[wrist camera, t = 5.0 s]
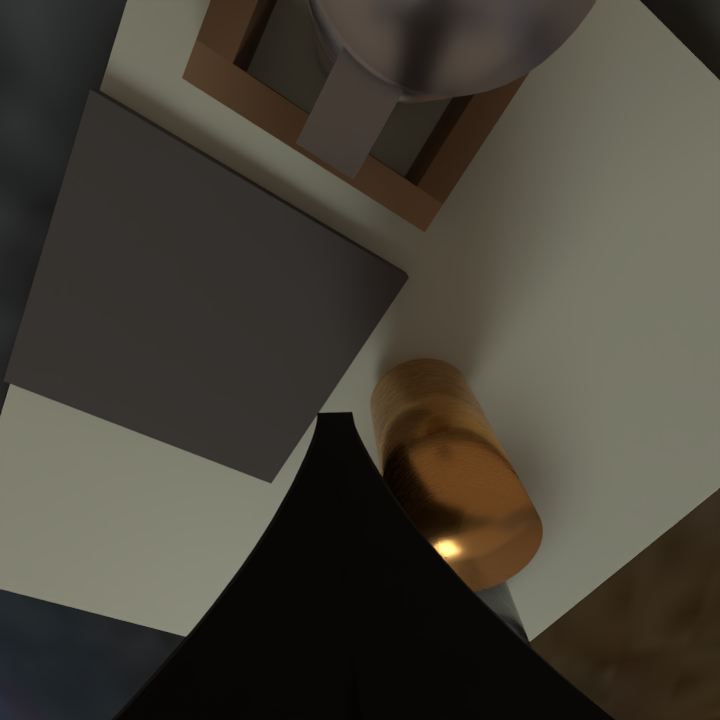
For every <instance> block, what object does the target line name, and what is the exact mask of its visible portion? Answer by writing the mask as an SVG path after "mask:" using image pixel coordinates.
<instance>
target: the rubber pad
mask: <svg viewBox="0 0 720 720" xmlns="http://www.w3.org/2000/svg"><path fill="white" fill-rule="evenodd" d="M408 278H409V277H408V275H407V273H406V272H405V271H403V270H402V269H400V268H398V267H397V266H395V265H393V264H391V263H390V262H388V261H386V260H385V259H383V258H381V257H380V256H378V255H376V254H375V253H373V252H371V251H370V250H368V249H366V248H365V247H363V246H361V245H359V244H358V243H356V242H354V241H353V240H351V239H349V238H348V237H346V236H344V235H343V234H341V233H339V232H338V231H336V230H334V229H333V228H331V227H329V226H327V225H326V224H324V223H322V222H321V221H319V220H317V219H316V218H314V217H312V216H311V215H309V214H307V213H306V212H304V211H302V210H301V209H299V208H297V207H295V206H294V205H292V204H290V203H289V202H287V201H285V200H284V199H282V198H280V197H279V196H277V195H275V194H274V193H272V192H270V191H269V190H267V189H265V188H263V187H262V186H260V185H258V184H257V183H255V182H253V181H252V180H250V179H248V178H247V177H245V176H243V175H242V174H240V173H238V172H237V171H235V170H233V169H232V168H230V167H228V166H226V165H225V164H223V163H221V162H220V161H218V160H216V159H215V158H213V157H211V156H210V155H208V154H206V153H205V152H203V151H201V150H200V149H198V148H196V147H194V146H193V145H191V144H189V143H188V142H186V141H184V140H183V139H181V138H179V137H178V136H176V135H174V134H173V133H171V132H169V131H168V130H166V129H164V128H162V127H161V126H159V125H157V124H156V123H154V122H152V121H151V120H149V119H147V118H146V117H144V116H142V115H141V114H139V113H137V112H136V111H134V110H132V109H130V108H129V107H127V106H125V105H124V104H122V103H120V102H119V101H117V100H115V99H114V98H112V97H110V96H109V95H107V94H105V93H104V92H102V91H100V90H93V89H90V91H89V94H88V98H87V101H86V105H85V108H84V111H83V115H82V118H81V121H80V125H79V128H78V132H77V135H76V138H75V142H74V145H73V148H72V152H71V155H70V159H69V162H68V165H67V169H66V172H65V175H64V179H63V182H62V186H61V189H60V192H59V196H58V199H57V202H56V206H55V209H54V212H53V216H52V219H51V223H50V226H49V229H48V233H47V236H46V239H45V243H44V246H43V250H42V253H41V256H40V260H39V263H38V266H37V270H36V273H35V277H34V280H33V283H32V287H31V290H30V293H29V297H28V300H27V304H26V307H25V310H24V314H23V317H22V320H21V324H20V327H19V330H18V334H17V337H16V341H15V344H14V347H13V351H12V354H11V357H10V361H9V364H8V368H7V371H6V374H5V378H4V382H7V383H10V384H12V385H15V386H17V387H20V388H23V389H25V390H28V391H31V392H33V393H36V394H38V395H41V396H44V397H46V398H49V399H51V400H54V401H57V402H59V403H62V404H64V405H67V406H70V407H72V408H75V409H78V410H80V411H83V412H85V413H88V414H91V415H93V416H96V417H98V418H101V419H104V420H106V421H109V422H111V423H114V424H117V425H119V426H122V427H124V428H127V429H130V430H132V431H135V432H138V433H140V434H143V435H145V436H148V437H151V438H153V439H156V440H158V441H161V442H164V443H166V444H169V445H171V446H174V447H177V448H179V449H182V450H185V451H187V452H190V453H192V454H195V455H198V456H200V457H203V458H205V459H208V460H211V461H213V462H216V463H218V464H221V465H224V466H226V467H229V468H232V469H234V470H237V471H239V472H242V473H245V474H247V475H250V476H252V477H255V478H258V479H260V480H263V481H265V482H268V483H272V482H273V480H274V479H275V477H276V476H277V474H278V473H279V471H280V470H281V468H282V467H283V465H284V464H285V462H286V461H287V459H288V458H289V456H290V455H291V453H292V452H293V450H294V449H295V447H296V446H297V444H298V443H299V441H300V440H301V438H302V437H303V435H304V434H305V432H306V431H307V429H308V428H309V426H310V425H311V423H312V422H313V420H314V419H315V417H316V416H317V413H319V411H320V410H321V408H322V407H323V405H324V404H325V402H326V401H327V400H328V398H329V397H330V395H331V394H332V392H333V391H334V389H335V388H336V386H337V385H338V383H339V382H340V380H341V379H342V377H343V376H344V374H345V373H346V371H347V370H348V368H349V367H350V365H351V364H352V362H353V361H354V359H355V358H356V356H357V355H358V353H359V352H360V350H361V349H362V347H363V346H364V344H365V343H366V341H367V340H368V338H369V337H370V335H371V334H372V332H373V331H374V329H375V328H376V326H377V325H378V323H379V322H380V320H381V319H382V317H383V316H384V314H385V313H386V311H387V310H388V308H389V307H390V305H391V304H392V302H393V301H394V299H395V298H396V296H397V295H398V293H399V292H400V290H401V289H402V287H403V286H404V284H405V283H406V281H407V280H408Z"/></svg>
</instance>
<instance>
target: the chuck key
mask: <svg viewBox="0 0 720 720" xmlns="http://www.w3.org/2000/svg"><path fill="white" fill-rule="evenodd" d="M596 1H597V0H308V6H309V13H310V19H311V26H312V32H313V39H314V45H315V50H316V54H317V58H318V61H319V63H320V66H321V68H322V70H323V72H324V74H325V76H326V78H327V80H326V82H325V84H324V87H323V89H322V91H321V93H320V95H319V97H318V99H317V101H316V103H315V105H314V107H313V109H312V111H311V113H310V115H309V117H308V119H307V121H306V123H305V125H304V127H303V129H302V131H301V133H300V135H299V137H298V140H297V142H296V144H298V145H299V146H301V147H302V148H304V149H305V150H307V151H309V152H310V153H312V154H313V155H315V156H316V157H318V158H320V159H321V160H323V161H324V162H326V163H327V164H329V165H330V166H332V167H334V168H335V169H337V170H338V171H340V172H341V173H343V174H345V175H346V176H348V177H349V178H351V179H352V180H354V179H355V177H356V175H357V173H358V171H359V170H360V168H361V166H362V164H363V162H364V161H365V159H366V157H367V155H368V154H369V152H370V150H371V148H372V146H373V145H374V143H375V141H376V139H377V137H378V136H379V134H380V132H381V130H382V129H383V127H384V125H385V123H386V121H387V120H388V118H389V116H390V114H391V112H392V111H393V109H394V107H395V106H400V105H406V104H413V103H420V102H426V101H433V100H440V99H447V98H453V97H460V96H467V95H472V94H477V93H482V92H487V91H490V90H492V89H495V88H498V87H501V86H504V85H506V84H508V83H510V82H512V81H514V80H516V79H518V78H520V77H522V76H524V75H525V74H527V73H528V72H530V71H531V70H533V69H534V68H536V67H537V66H538V65H540V64H541V63H543V62H544V61H545V60H546V59H547V58H548V57H550V56H551V55H552V54H553V53H554V52H555V51H556V50H558V49H559V48H560V47H561V46H562V45H563V44H564V42H565V41H566V40H567V39H568V38H569V37H570V36H571V35H572V34H573V33H574V32H575V30H576V29H577V28H578V27H579V25H580V24H581V23H582V21H583V20H584V19H585V17H586V16H587V14H588V13H589V12H590V10H591V9H592V7H593V6H594V4H595V2H596Z"/></svg>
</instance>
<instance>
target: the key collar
mask: <svg viewBox="0 0 720 720" xmlns="http://www.w3.org/2000/svg"><path fill="white" fill-rule="evenodd" d="M276 1H277V0H211V1H210V3H209V6H208V9H207V11H206V14H205V17H204V20H203V22H202V25H201V28H200V30H199V33H198V36H197V39H196V41H195V44H194V47H193V49H192V52H191V55H190V57H189V60H188V63H187V66H186V68H185V71H184V74H183V76H182V79H184V80H186V81H187V82H189V83H190V84H192V85H194V86H195V87H197V88H198V89H200V90H201V91H203V92H205V93H206V94H208V95H209V96H211V97H212V98H214V99H216V100H217V101H219V102H220V103H222V104H223V105H225V106H227V107H228V108H230V109H231V110H233V111H234V112H236V113H238V114H239V115H241V116H242V117H244V118H245V119H247V120H249V121H250V122H252V123H253V124H255V125H256V126H258V127H260V128H261V129H263V130H264V131H266V132H267V133H269V134H271V135H272V136H274V137H275V138H277V139H279V140H280V141H282V142H283V143H285V144H286V145H288V146H290V147H291V148H293V149H294V150H296V151H297V152H299V153H301V154H302V155H304V156H305V157H307V158H308V159H310V160H312V161H313V162H315V163H316V164H318V165H319V166H321V167H323V168H324V169H326V170H327V171H329V172H330V173H332V174H334V175H335V176H337V177H338V178H340V179H341V180H343V181H345V182H346V183H348V184H349V185H351V186H352V187H354V188H356V189H357V190H359V191H360V192H362V193H363V194H365V195H367V196H368V197H370V198H371V199H373V200H375V201H376V202H378V203H379V204H381V205H382V206H384V207H386V208H387V209H389V210H390V211H392V212H393V213H395V214H397V215H398V216H400V217H401V218H403V219H404V220H406V221H408V222H409V223H411V224H412V225H414V226H415V227H417V228H419V229H420V230H422V231H423V232H425V231H426V230H427V228H428V227H429V225H430V224H431V222H432V221H433V219H434V218H435V216H436V214H437V213H438V211H439V210H440V208H441V207H442V205H443V204H444V202H445V201H446V199H447V198H448V196H449V195H450V193H451V192H452V190H453V189H454V187H455V185H456V184H457V182H458V181H459V179H460V178H461V176H462V175H463V173H464V172H465V170H466V169H467V167H468V166H469V164H470V163H471V161H472V160H473V158H474V156H475V155H476V153H477V152H478V150H479V149H480V147H481V146H482V144H483V143H484V141H485V140H486V138H487V137H488V135H489V134H490V132H491V130H492V129H493V127H494V126H495V124H496V123H497V121H498V120H499V118H500V117H501V115H502V114H503V112H504V111H505V109H506V108H507V106H508V105H509V103H510V101H511V100H512V98H513V97H514V95H515V94H516V92H517V91H518V89H519V88H520V86H521V85H522V83H523V82H524V80H525V79H526V77H527V76H528V74H529V72H528V73H527V74H525V75H524V76H522V77H520V78H518V79H516V80H514V81H512V82H510V83H508V84H506V85H504V86H501V87H498V88H495V89H492V90H490V91H487V92H482V93H477V94H472V95H467V96H460V97H453V98H452V99H451V101H450V102H449V104H448V106H447V107H446V109H445V111H444V112H443V114H442V116H441V117H440V119H439V121H438V122H437V124H436V126H435V127H434V129H433V131H432V132H431V134H430V135H429V137H428V139H427V140H426V142H425V144H424V145H423V147H422V149H421V150H420V152H419V154H418V155H417V157H416V159H415V160H414V162H413V164H412V165H411V167H410V169H409V170H408V172H407V174H406V175H405V177H403V176H402V175H400V174H399V173H397V172H396V171H394V170H393V169H391V168H390V167H389V166H387V165H386V164H384V163H383V162H381V161H380V160H378V159H377V158H375V157H374V156H372V155H371V154H368V155H367V157H366V159H365V161H364V162H363V164H362V166H361V168H360V170H359V171H358V173H357V175H356V177H355V179H354V180H352V179H351V178H349V177H348V176H346V175H345V174H343V173H341V172H340V171H338V170H337V169H335V168H334V167H332V166H330V165H329V164H327V163H326V162H324V161H323V160H321V159H320V158H318V157H316V156H315V155H313V154H312V153H310V152H309V151H307V150H305V149H304V148H302V147H301V146H299V145H298V144H296V142H297V140H298V137H299V135H300V133H301V131H302V129H303V127H304V125H305V123H306V121H307V119H308V117H309V115H310V114H309V113H308V112H306V111H305V110H303V109H302V108H300V107H299V106H297V105H296V104H294V103H293V102H291V101H290V100H288V99H287V98H285V97H284V96H282V95H281V94H279V93H278V92H276V91H275V90H273V89H272V88H270V87H269V86H267V85H266V84H264V83H263V82H261V81H260V80H259V79H257V78H256V77H254V76H253V75H251V74H250V73H248V72H247V70H248V68H249V66H250V63H251V61H252V58H253V56H254V54H255V51H256V49H257V47H258V44H259V42H260V39H261V37H262V35H263V32H264V30H265V28H266V25H267V23H268V20H269V18H270V16H271V13H272V11H273V9H274V6H275V4H276Z"/></svg>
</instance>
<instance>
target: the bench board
mask: <svg viewBox="0 0 720 720" xmlns="http://www.w3.org/2000/svg"><path fill="white" fill-rule="evenodd" d="M210 1H211V0H127V3H126V6H125V9H124V13H123V16H122V19H121V23H120V26H119V29H118V32H117V36H116V39H115V42H114V45H113V49H112V52H111V55H110V59H109V62H108V65H107V68H106V72H105V75H104V78H103V82H102V85H101V88H100V91H102V92H104V93H105V94H107V95H109V96H110V97H112V98H114V99H115V100H117V101H119V102H120V103H122V104H124V105H125V106H127V107H129V108H130V109H132V110H134V111H136V112H137V113H139V114H141V115H142V116H144V117H146V118H147V119H149V120H151V121H152V122H154V123H156V124H157V125H159V126H161V127H162V128H164V129H166V130H168V131H169V132H171V133H173V134H174V135H176V136H178V137H179V138H181V139H183V140H184V141H186V142H188V143H189V144H191V145H193V146H194V147H196V148H198V149H200V150H201V151H203V152H205V153H206V154H208V155H210V156H211V157H213V158H215V159H216V160H218V161H220V162H221V163H223V164H225V165H226V166H228V167H230V168H232V169H233V170H235V171H237V172H238V173H240V174H242V175H243V176H245V177H247V178H248V179H250V180H252V181H253V182H255V183H257V184H258V185H260V186H262V187H263V188H265V189H267V190H269V191H270V192H272V193H274V194H275V195H277V196H279V197H280V198H282V199H284V200H285V201H287V202H289V203H290V204H292V205H294V206H295V207H297V208H299V209H301V210H302V211H304V212H306V213H307V214H309V215H311V216H312V217H314V218H316V219H317V220H319V221H321V222H322V223H324V224H326V225H327V226H329V227H331V228H333V229H334V230H336V231H338V232H339V233H341V234H343V235H344V236H346V237H348V238H349V239H351V240H353V241H354V242H356V243H358V244H359V245H361V246H363V247H365V248H366V249H368V250H370V251H371V252H373V253H375V254H376V255H378V256H380V257H381V258H383V259H385V260H386V261H388V262H390V263H391V264H393V265H395V266H397V267H398V268H400V269H402V270H403V271H405V272H406V273H407V275H408V277H409V278H408V280H407V281H406V283H405V284H404V286H403V287H402V289H401V290H400V292H399V293H398V295H397V296H396V298H395V299H394V301H393V302H392V304H391V305H390V307H389V308H388V310H387V311H386V313H385V314H384V316H383V317H382V319H381V320H380V322H379V323H378V325H377V326H376V328H375V329H374V331H373V332H372V334H371V335H370V337H369V338H368V340H367V341H366V343H365V344H364V346H363V347H362V349H361V350H360V352H359V353H358V355H357V356H356V358H355V359H354V361H353V362H352V364H351V365H350V367H349V368H348V370H347V371H346V373H345V374H344V376H343V377H342V379H341V380H340V382H339V383H338V385H337V386H336V388H335V389H334V391H333V392H332V394H331V395H330V397H329V398H328V400H327V401H326V402H325V404H324V405H323V407H322V408H321V410H320V411H319V413H327V412H352V413H353V418H354V424H355V426H356V429H357V431H358V433H359V435H360V438H361V440H362V442H363V444H364V446H365V447H366V449H367V451H368V453H369V455H370V457H371V459H372V460H373V462H374V464H375V465H376V467H377V469H378V470H379V472H380V468H379V462H378V455H377V449H376V442H375V436H374V429H373V423H372V416H371V410H370V401H371V396H372V392H373V390H374V388H375V386H376V384H377V383H378V381H379V380H380V379H381V378H382V376H383V375H384V374H386V373H387V372H388V371H389V370H391V369H392V368H393V367H395V366H397V365H399V364H401V363H404V362H406V361H410V360H414V359H420V358H430V359H437V360H441V361H444V362H447V363H449V364H451V365H453V366H454V367H456V368H457V369H458V370H459V371H460V372H461V373H462V374H463V375H464V377H465V378H466V380H467V382H468V384H469V386H470V387H471V389H472V391H473V393H474V395H475V397H476V399H477V401H478V402H479V404H480V406H481V408H482V410H483V412H484V414H485V416H486V417H487V419H488V421H489V423H490V425H491V427H492V429H493V430H494V432H495V434H496V436H497V438H498V440H499V442H500V444H501V445H502V447H503V449H504V451H505V453H506V455H507V457H508V459H509V460H510V462H511V464H512V466H513V468H514V470H515V472H516V473H517V475H518V477H519V479H520V481H521V483H522V485H523V487H524V488H525V490H526V492H527V494H528V496H529V498H530V500H531V502H532V503H533V505H534V507H535V509H536V511H537V513H538V515H539V516H540V519H541V522H542V526H543V537H542V541H541V545H540V547H539V549H538V551H537V553H536V554H535V556H534V558H533V559H532V560H531V561H530V562H529V564H528V565H527V566H525V567H524V568H523V569H522V570H521V571H520V572H518V573H517V574H516V575H514V576H513V577H511V578H510V579H508V580H506V583H507V585H508V588H509V590H510V593H511V596H512V598H513V601H514V603H515V606H516V609H517V611H518V614H519V616H520V619H521V621H522V624H523V627H524V629H525V632H526V634H527V637H528V639H529V642H530V641H531V640H532V639H534V638H535V637H536V636H537V635H539V634H540V633H541V632H542V631H544V630H545V629H546V628H547V627H549V626H550V625H551V624H552V623H553V622H555V621H556V620H557V619H558V618H560V617H561V616H562V615H563V614H565V613H566V612H567V611H568V610H569V609H571V608H572V607H573V606H574V605H576V604H577V603H578V602H579V601H581V600H582V599H583V598H584V597H586V596H587V595H588V594H589V593H590V592H592V591H593V590H594V589H595V588H597V587H598V586H599V585H600V584H602V583H603V582H604V581H605V580H607V579H608V578H609V577H610V576H611V575H613V574H614V573H615V572H616V571H618V570H619V569H620V568H621V567H623V566H624V565H625V564H626V563H628V562H629V561H630V560H631V559H632V558H634V557H635V556H636V555H637V554H639V553H640V552H641V551H642V550H644V549H645V548H646V547H647V546H649V545H650V544H651V543H652V542H653V541H655V540H656V539H657V538H658V537H660V536H661V535H662V534H663V533H665V532H666V531H667V530H668V529H669V528H671V527H672V526H673V525H674V524H676V523H677V522H678V521H679V520H681V519H682V518H683V517H684V516H686V515H687V514H688V513H689V512H690V511H692V510H693V509H694V508H695V507H697V506H698V505H699V504H700V503H702V502H703V501H704V500H705V499H707V498H708V497H709V496H710V495H711V494H713V493H714V492H715V491H716V490H718V489H719V488H720V80H719V79H718V78H717V77H716V76H715V75H714V74H713V73H712V72H711V71H710V70H709V69H708V68H707V67H706V66H705V65H704V64H703V63H702V62H701V61H700V60H699V59H698V58H697V57H696V56H695V55H694V54H693V53H692V52H691V51H690V50H689V49H688V48H687V47H686V46H685V45H684V44H683V43H682V42H681V41H680V40H679V39H678V38H677V37H676V36H675V35H674V34H673V33H672V32H671V31H670V30H669V29H668V28H667V27H666V26H665V25H664V24H663V23H662V22H661V21H660V20H659V19H658V18H657V17H656V16H655V15H654V14H653V13H652V12H651V11H650V10H649V9H648V8H647V7H646V6H645V5H644V4H643V3H642V2H641V1H640V0H597V1H596V2H595V4H594V6H593V7H592V9H591V10H590V12H589V13H588V14H587V16H586V17H585V19H584V20H583V21H582V23H581V24H580V25H579V27H578V28H577V29H576V30H575V32H574V33H573V34H572V35H571V36H570V37H569V38H568V39H567V40H566V41H565V42H564V44H563V45H562V46H561V47H560V48H559V49H558V50H556V51H555V52H554V53H553V54H552V55H551V56H550V57H548V58H547V59H546V60H545V61H544V62H543V63H541V64H540V65H538V66H537V67H536V68H534V69H533V70H531V71H530V72H529V74H528V76H527V77H526V79H525V80H524V82H523V83H522V85H521V86H520V88H519V89H518V91H517V92H516V94H515V95H514V97H513V98H512V100H511V101H510V103H509V105H508V106H507V108H506V109H505V111H504V112H503V114H502V115H501V117H500V118H499V120H498V121H497V123H496V124H495V126H494V127H493V129H492V130H491V132H490V134H489V135H488V137H487V138H486V140H485V141H484V143H483V144H482V146H481V147H480V149H479V150H478V152H477V153H476V155H475V156H474V158H473V160H472V161H471V163H470V164H469V166H468V167H467V169H466V170H465V172H464V173H463V175H462V176H461V178H460V179H459V181H458V182H457V184H456V185H455V187H454V189H453V190H452V192H451V193H450V195H449V196H448V198H447V199H446V201H445V202H444V204H443V205H442V207H441V208H440V210H439V211H438V213H437V214H436V216H435V218H434V219H433V221H432V222H431V224H430V225H429V227H428V228H427V230H426V231H425V232H423V231H422V230H420V229H419V228H417V227H415V226H414V225H412V224H411V223H409V222H408V221H406V220H404V219H403V218H401V217H400V216H398V215H397V214H395V213H393V212H392V211H390V210H389V209H387V208H386V207H384V206H382V205H381V204H379V203H378V202H376V201H375V200H373V199H371V198H370V197H368V196H367V195H365V194H363V193H362V192H360V191H359V190H357V189H356V188H354V187H352V186H351V185H349V184H348V183H346V182H345V181H343V180H341V179H340V178H338V177H337V176H335V175H334V174H332V173H330V172H329V171H327V170H326V169H324V168H323V167H321V166H319V165H318V164H316V163H315V162H313V161H312V160H310V159H308V158H307V157H305V156H304V155H302V154H301V153H299V152H297V151H296V150H294V149H293V148H291V147H290V146H288V145H286V144H285V143H283V142H282V141H280V140H279V139H277V138H275V137H274V136H272V135H271V134H269V133H267V132H266V131H264V130H263V129H261V128H260V127H258V126H256V125H255V124H253V123H252V122H250V121H249V120H247V119H245V118H244V117H242V116H241V115H239V114H238V113H236V112H234V111H233V110H231V109H230V108H228V107H227V106H225V105H223V104H222V103H220V102H219V101H217V100H216V99H214V98H212V97H211V96H209V95H208V94H206V93H205V92H203V91H201V90H200V89H198V88H197V87H195V86H194V85H192V84H190V83H189V82H187V81H186V80H184V79H182V76H183V74H184V71H185V68H186V66H187V63H188V60H189V57H190V55H191V52H192V49H193V47H194V44H195V41H196V39H197V36H198V33H199V30H200V28H201V25H202V22H203V20H204V17H205V14H206V11H207V9H208V6H209V3H210ZM247 72H248V73H250V74H251V75H253V76H254V77H256V78H257V79H259V80H260V81H261V82H263V83H264V84H266V85H267V86H269V87H270V88H272V89H273V90H275V91H276V92H278V93H279V94H281V95H282V96H284V97H285V98H287V99H288V100H290V101H291V102H293V103H294V104H296V105H297V106H299V107H300V108H302V109H303V110H305V111H306V112H308V113H309V114H310V113H311V111H312V109H313V107H314V105H315V103H316V101H317V99H318V97H319V95H320V93H321V91H322V89H323V87H324V84H325V82H326V80H327V78H326V76H325V74H324V72H323V70H322V68H321V66H320V63H319V61H318V58H317V54H316V50H315V45H314V39H313V32H312V26H311V19H310V13H309V6H308V0H277V1H276V4H275V6H274V9H273V11H272V13H271V16H270V18H269V20H268V23H267V25H266V28H265V30H264V32H263V35H262V37H261V39H260V42H259V44H258V47H257V49H256V51H255V54H254V56H253V58H252V61H251V63H250V66H249V68H248V70H247ZM451 99H452V98H447V99H440V100H433V101H426V102H420V103H413V104H406V105H400V106H395V107H394V109H393V111H392V112H391V114H390V116H389V118H388V120H387V121H386V123H385V125H384V127H383V129H382V130H381V132H380V134H379V136H378V137H377V139H376V141H375V143H374V145H373V146H372V148H371V150H370V152H369V154H371V155H372V156H374V157H375V158H377V159H378V160H380V161H381V162H383V163H384V164H386V165H387V166H389V167H390V168H391V169H393V170H394V171H396V172H397V173H399V174H400V175H402V176H403V177H405V175H406V174H407V172H408V170H409V169H410V167H411V165H412V164H413V162H414V160H415V159H416V157H417V155H418V154H419V152H420V150H421V149H422V147H423V145H424V144H425V142H426V140H427V139H428V137H429V135H430V134H431V132H432V131H433V129H434V127H435V126H436V124H437V122H438V121H439V119H440V117H441V116H442V114H443V112H444V111H445V109H446V107H447V106H448V104H449V102H450V101H451ZM316 422H317V416H316V417H315V419H314V420H313V422H312V423H311V425H310V426H309V428H308V429H307V431H306V432H305V434H304V435H303V437H302V438H301V440H300V441H299V443H298V444H297V446H296V447H295V449H294V450H293V452H292V453H291V455H290V456H289V458H288V459H287V461H286V462H285V464H284V465H283V467H282V468H281V470H280V471H279V473H278V474H277V476H276V477H275V479H274V480H273V482H272V483H268V482H265V481H263V480H260V479H258V478H255V477H252V476H250V475H247V474H245V473H242V472H239V471H237V470H234V469H232V468H229V467H226V466H224V465H221V464H218V463H216V462H213V461H211V460H208V459H205V458H203V457H200V456H198V455H195V454H192V453H190V452H187V451H185V450H182V449H179V448H177V447H174V446H171V445H169V444H166V443H164V442H161V441H158V440H156V439H153V438H151V437H148V436H145V435H143V434H140V433H138V432H135V431H132V430H130V429H127V428H124V427H122V426H119V425H117V424H114V423H111V422H109V421H106V420H104V419H101V418H98V417H96V416H93V415H91V414H88V413H85V412H83V411H80V410H78V409H75V408H72V407H70V406H67V405H64V404H62V403H59V402H57V401H54V400H51V399H49V398H46V397H44V396H41V395H38V394H36V393H33V392H31V391H28V390H25V389H23V388H20V387H17V386H15V385H12V384H10V386H9V390H8V393H7V396H6V400H5V403H4V406H3V409H2V413H1V416H0V589H3V590H7V591H11V592H15V593H19V594H23V595H26V596H30V597H34V598H38V599H42V600H46V601H50V602H54V603H58V604H62V605H65V606H69V607H73V608H77V609H81V610H85V611H89V612H93V613H97V614H100V615H104V616H108V617H112V618H116V619H120V620H124V621H128V622H132V623H136V624H139V625H143V626H147V627H151V628H155V629H159V630H163V631H167V632H171V633H174V634H178V635H182V636H187V635H188V634H189V633H190V632H191V631H192V629H193V628H194V627H195V626H196V625H197V623H198V622H199V621H200V620H201V618H202V617H203V616H204V615H205V613H206V612H207V611H208V610H209V608H210V607H211V606H212V605H213V603H214V602H215V601H216V599H217V598H218V597H219V595H220V594H221V593H222V591H223V590H224V589H225V587H226V586H227V585H228V583H229V582H230V581H231V579H232V578H233V577H234V575H235V574H236V573H237V571H238V570H239V569H240V567H241V566H242V564H243V563H244V561H245V560H246V559H247V557H248V556H249V554H250V553H251V551H252V550H253V548H254V547H255V545H256V544H257V542H258V541H259V539H260V538H261V536H262V535H263V533H264V531H265V530H266V528H267V527H268V525H269V523H270V522H271V520H272V518H273V517H274V515H275V513H276V511H277V510H278V508H279V506H280V504H281V503H282V501H283V499H284V497H285V495H286V494H287V492H288V490H289V488H290V486H291V484H292V482H293V480H294V478H295V476H296V474H297V472H298V470H299V468H300V466H301V464H302V461H303V459H304V457H305V455H306V452H307V450H308V447H309V445H310V442H311V440H312V437H313V434H314V430H315V427H316Z"/></svg>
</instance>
